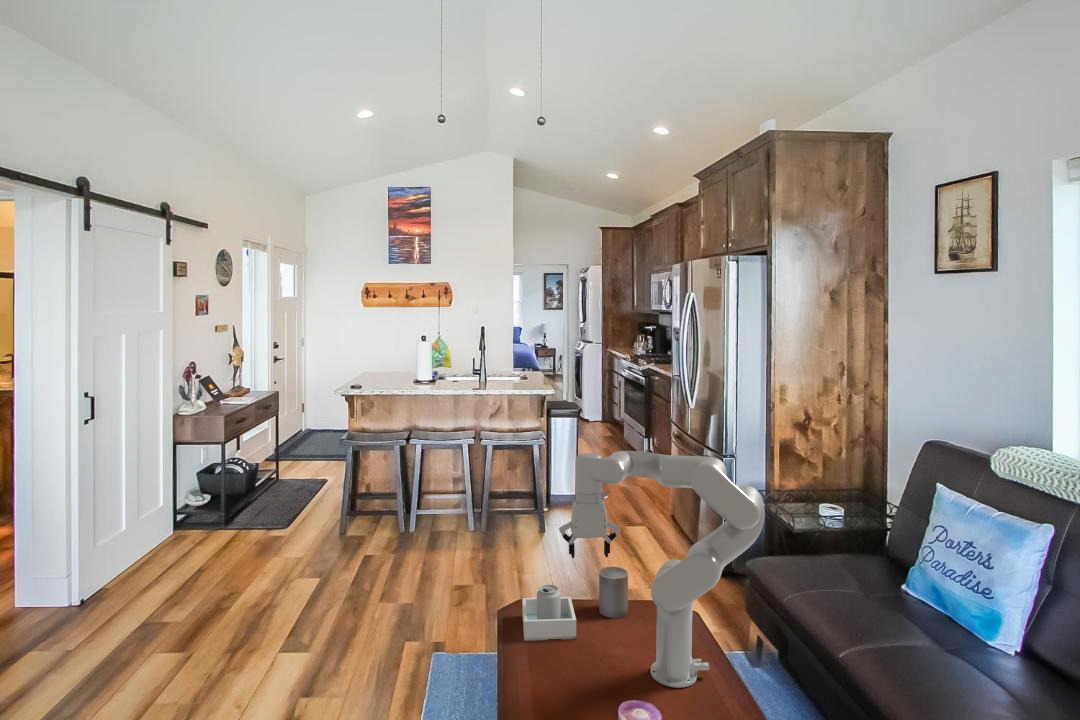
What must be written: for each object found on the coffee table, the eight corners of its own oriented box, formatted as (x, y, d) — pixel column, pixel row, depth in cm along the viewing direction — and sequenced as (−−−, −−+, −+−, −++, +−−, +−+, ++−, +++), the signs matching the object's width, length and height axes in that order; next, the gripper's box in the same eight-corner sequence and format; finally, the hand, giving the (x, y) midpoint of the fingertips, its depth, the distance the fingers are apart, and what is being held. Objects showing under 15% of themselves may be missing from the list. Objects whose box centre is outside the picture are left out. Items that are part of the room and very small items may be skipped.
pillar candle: (625, 604, 212) (624, 562, 212) (630, 618, 203) (630, 573, 202) (596, 606, 212) (596, 563, 211) (601, 619, 202) (601, 574, 201)
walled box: (570, 614, 205) (570, 596, 205) (576, 639, 190) (576, 620, 189) (522, 615, 205) (522, 598, 204) (524, 640, 189) (524, 621, 188)
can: (534, 621, 199) (534, 584, 199) (556, 617, 202) (556, 581, 201) (541, 632, 192) (540, 594, 191) (563, 628, 194) (563, 591, 194)
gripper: (616, 493, 180) (617, 550, 181) (557, 494, 179) (558, 552, 180) (621, 500, 173) (621, 560, 174) (560, 501, 172) (560, 562, 173)
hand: (589, 556), depth 177 cm, fingers open, 9 cm apart
